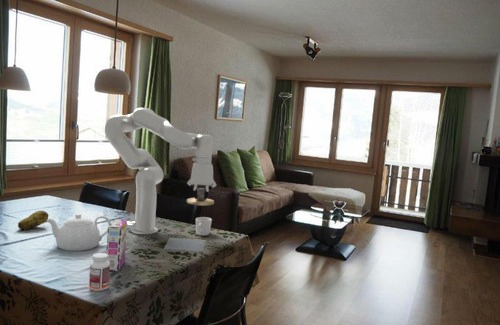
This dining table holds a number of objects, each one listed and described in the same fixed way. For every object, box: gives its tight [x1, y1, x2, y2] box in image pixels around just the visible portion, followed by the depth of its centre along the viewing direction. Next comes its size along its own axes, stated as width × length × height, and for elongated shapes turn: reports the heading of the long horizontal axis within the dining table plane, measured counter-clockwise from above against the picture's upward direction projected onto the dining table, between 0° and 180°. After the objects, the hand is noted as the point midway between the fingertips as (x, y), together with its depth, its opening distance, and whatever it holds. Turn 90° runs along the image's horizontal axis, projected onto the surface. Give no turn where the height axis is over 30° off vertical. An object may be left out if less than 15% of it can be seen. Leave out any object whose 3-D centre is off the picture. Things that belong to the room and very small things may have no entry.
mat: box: [163, 237, 207, 253], centre depth 188 cm, size 17×17×1 cm
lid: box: [186, 187, 215, 207], centre depth 199 cm, size 13×13×7 cm
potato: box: [17, 210, 49, 230], centre depth 194 cm, size 8×13×8 cm, turn 124°
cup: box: [195, 216, 213, 236], centre depth 205 cm, size 11×8×8 cm
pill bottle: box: [88, 252, 111, 292], centre depth 136 cm, size 6×6×11 cm
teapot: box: [45, 213, 112, 252], centre depth 176 cm, size 19×18×14 cm
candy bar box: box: [106, 219, 128, 272], centre depth 156 cm, size 11×5×16 cm, turn 5°
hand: (200, 198), depth 199 cm, fingers closed on lid, 4 cm apart
